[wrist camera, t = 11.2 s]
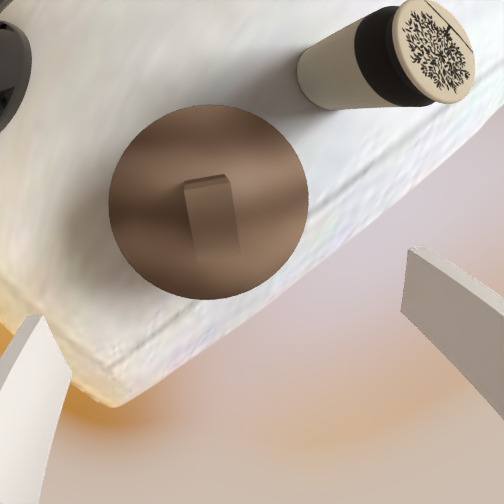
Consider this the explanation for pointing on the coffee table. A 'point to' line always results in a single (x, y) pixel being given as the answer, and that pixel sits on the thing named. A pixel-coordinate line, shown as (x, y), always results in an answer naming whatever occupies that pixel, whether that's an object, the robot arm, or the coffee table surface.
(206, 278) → the lid
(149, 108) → the coffee table surface
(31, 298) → the coffee table surface
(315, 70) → the travel mug
